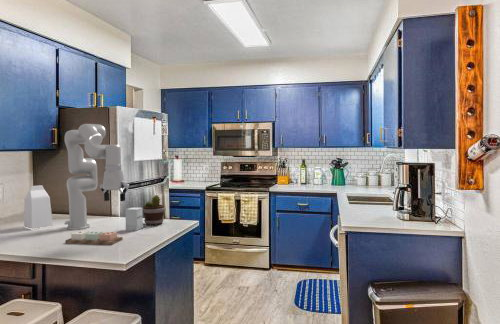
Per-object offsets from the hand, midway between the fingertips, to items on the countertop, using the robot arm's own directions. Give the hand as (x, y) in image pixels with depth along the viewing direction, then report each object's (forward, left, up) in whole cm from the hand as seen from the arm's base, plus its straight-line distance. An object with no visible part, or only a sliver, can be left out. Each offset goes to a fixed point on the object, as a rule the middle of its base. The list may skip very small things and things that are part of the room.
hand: (114, 200), depth 187 cm
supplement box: (-3, +25, -21) cm, 32 cm away
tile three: (-2, -4, -19) cm, 20 cm away
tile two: (-10, -4, -19) cm, 22 cm away
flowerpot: (+2, +41, -21) cm, 46 cm away
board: (-10, -4, -21) cm, 23 cm away
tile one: (-18, -4, -19) cm, 26 cm away
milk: (-67, +24, -21) cm, 74 cm away
